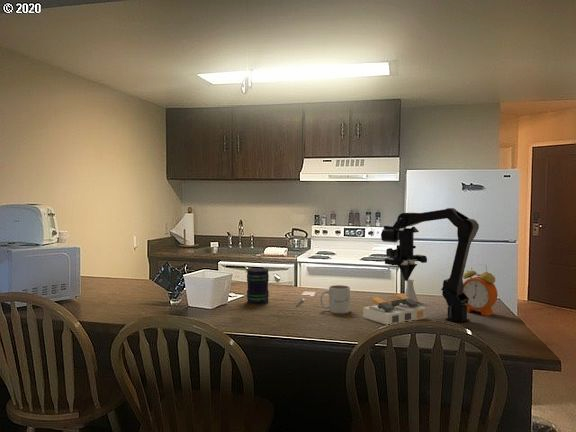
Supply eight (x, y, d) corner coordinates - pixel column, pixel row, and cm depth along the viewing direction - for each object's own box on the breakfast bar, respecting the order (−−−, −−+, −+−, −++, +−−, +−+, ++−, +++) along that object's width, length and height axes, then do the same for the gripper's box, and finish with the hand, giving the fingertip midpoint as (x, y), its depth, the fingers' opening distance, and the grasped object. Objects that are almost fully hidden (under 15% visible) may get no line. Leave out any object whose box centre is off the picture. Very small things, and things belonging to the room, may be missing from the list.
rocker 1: (392, 312, 181) (394, 307, 180) (386, 313, 179) (387, 308, 178) (377, 302, 188) (378, 296, 187) (370, 303, 186) (371, 297, 186)
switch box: (426, 318, 186) (426, 305, 186) (388, 325, 175) (389, 312, 175) (399, 311, 198) (399, 299, 198) (363, 317, 187) (363, 304, 187)
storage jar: (243, 304, 211) (243, 270, 210) (250, 299, 220) (250, 267, 220) (265, 305, 208) (265, 271, 208) (271, 300, 218) (271, 268, 217)
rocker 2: (406, 305, 183) (405, 298, 184) (400, 306, 181) (399, 299, 182) (390, 306, 191) (389, 300, 191) (384, 307, 189) (383, 301, 189)
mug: (349, 308, 202) (349, 285, 202) (349, 313, 194) (349, 289, 193) (320, 307, 204) (321, 284, 203) (319, 312, 195) (319, 288, 195)
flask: (418, 303, 212) (418, 281, 212) (402, 303, 214) (402, 281, 213) (417, 300, 219) (417, 278, 219) (401, 299, 221) (401, 278, 220)
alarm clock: (459, 310, 198) (460, 263, 198) (467, 308, 202) (467, 262, 202) (490, 316, 188) (490, 266, 188) (497, 314, 192) (498, 265, 191)
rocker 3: (416, 308, 188) (418, 303, 187) (410, 309, 186) (411, 304, 185) (400, 298, 195) (401, 293, 194) (394, 299, 193) (395, 294, 192)
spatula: (315, 295, 234) (315, 292, 234) (303, 308, 205) (303, 304, 205) (303, 294, 235) (303, 291, 235) (289, 307, 207) (290, 304, 207)
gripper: (408, 240, 207) (408, 276, 207) (375, 242, 197) (375, 279, 198) (428, 242, 197) (427, 279, 198) (394, 244, 188) (394, 283, 188)
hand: (405, 280), depth 196 cm, fingers closed
